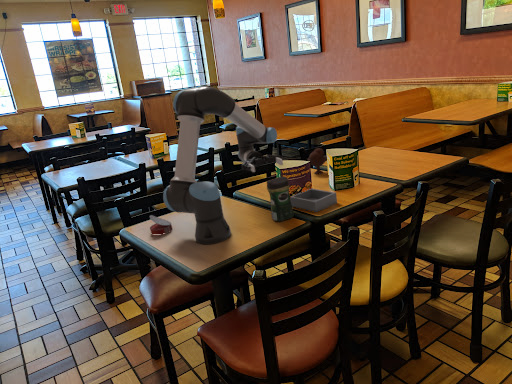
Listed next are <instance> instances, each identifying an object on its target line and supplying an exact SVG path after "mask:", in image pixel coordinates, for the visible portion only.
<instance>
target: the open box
mask: <svg viewBox="0 0 512 384" xmlns="http://www.w3.org/2000/svg"><path fill="white" fill-rule="evenodd" d="M308 189H309V190H308ZM308 189H306V190H307V191H306V190H304V191H305V192H303V191H301V192H302V193H301V192H298V193H296V194H294V195H291V196H290V200H291V204H292V208H294V207H296V208H295V209H298V208H301V209H300V210H302V209H305V210H304V211H307V210H310V211H309V212H311V211H314V212H313V213H315V212H317V213H319V212H321V211H323V210H325V209H327V208H329V206H330V207H332V206H334V205H337V203H338V197H337V192H336V191H335V192H334V191H328V190H322V189H316V188H311V189H310V188H308ZM331 205H332V206H331ZM322 209H323V210H322ZM320 210H321V211H320ZM318 211H319V212H318Z"/></svg>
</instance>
